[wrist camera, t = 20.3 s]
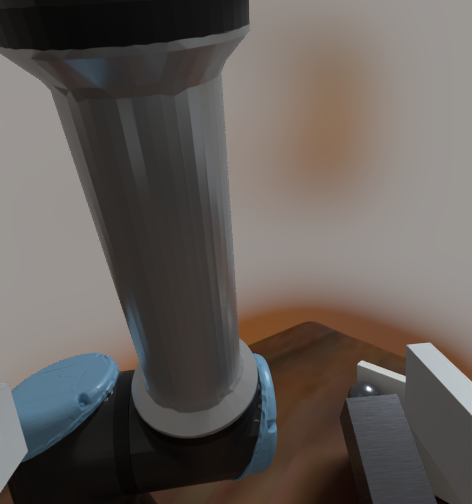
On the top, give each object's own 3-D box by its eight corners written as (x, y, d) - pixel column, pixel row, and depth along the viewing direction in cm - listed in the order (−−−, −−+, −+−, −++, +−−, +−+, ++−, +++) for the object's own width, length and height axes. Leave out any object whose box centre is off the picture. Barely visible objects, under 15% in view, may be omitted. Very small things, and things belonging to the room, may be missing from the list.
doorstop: (375, 565, 32) (328, 369, 44) (358, 574, 38) (321, 400, 51) (481, 558, 32) (404, 362, 44) (447, 567, 38) (388, 394, 51)
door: (506, 514, 42) (518, 408, 39) (499, 531, 40) (511, 422, 37) (368, 440, 54) (367, 355, 51) (358, 452, 53) (357, 364, 49)
